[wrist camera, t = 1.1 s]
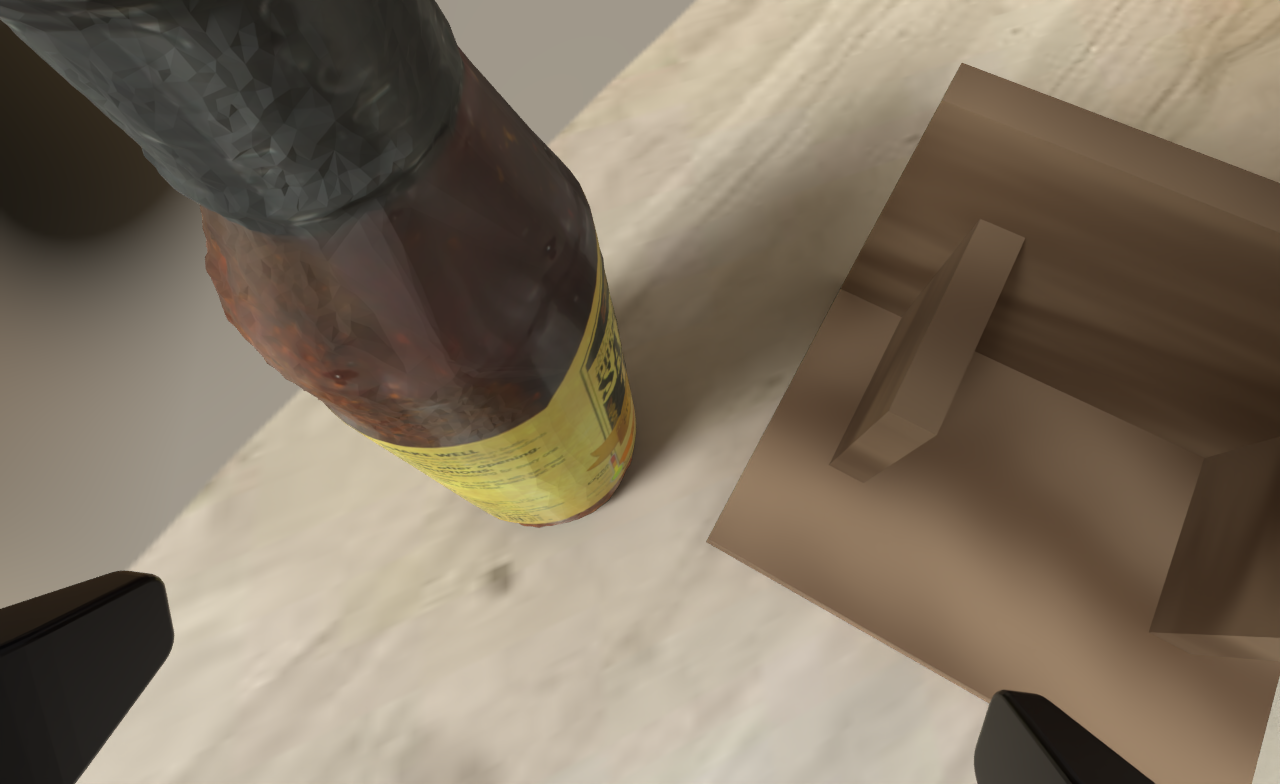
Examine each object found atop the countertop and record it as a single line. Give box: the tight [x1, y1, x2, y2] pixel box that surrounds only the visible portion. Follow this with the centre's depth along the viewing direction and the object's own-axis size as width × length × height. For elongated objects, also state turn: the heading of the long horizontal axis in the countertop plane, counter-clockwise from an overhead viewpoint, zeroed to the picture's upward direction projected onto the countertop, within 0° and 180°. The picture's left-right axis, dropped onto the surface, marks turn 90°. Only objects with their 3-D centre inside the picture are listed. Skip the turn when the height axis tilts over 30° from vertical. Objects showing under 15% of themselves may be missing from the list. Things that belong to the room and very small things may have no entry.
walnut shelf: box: [706, 63, 1280, 784], centre depth 17 cm, size 11×16×10 cm
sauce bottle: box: [0, 0, 636, 528], centre depth 13 cm, size 7×6×20 cm
